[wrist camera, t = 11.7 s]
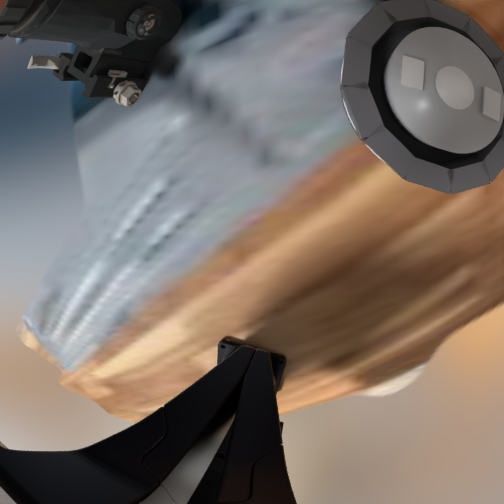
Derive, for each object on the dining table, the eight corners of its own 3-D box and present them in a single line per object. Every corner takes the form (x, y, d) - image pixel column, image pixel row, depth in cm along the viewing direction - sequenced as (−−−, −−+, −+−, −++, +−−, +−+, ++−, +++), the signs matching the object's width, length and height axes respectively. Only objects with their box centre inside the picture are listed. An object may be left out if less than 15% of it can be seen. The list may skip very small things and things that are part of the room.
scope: (-51, 82, 6) (20, -74, 1) (93, 70, 18) (152, -26, 13) (-22, 137, 6) (86, -94, 2) (152, 110, 18) (228, 1, 14)
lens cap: (471, 160, 12) (498, 170, 9) (375, 131, 13) (385, 132, 10) (480, 63, 9) (507, 55, 6) (383, 29, 10) (394, 9, 7)
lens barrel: (467, 191, 15) (501, 215, 11) (329, 152, 17) (328, 162, 12) (485, 57, 10) (522, 46, 6) (346, 10, 12) (349, -24, 8)
